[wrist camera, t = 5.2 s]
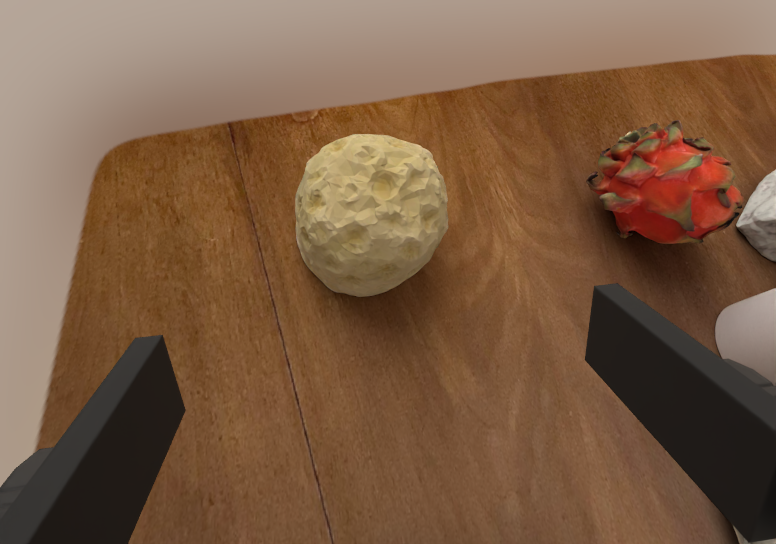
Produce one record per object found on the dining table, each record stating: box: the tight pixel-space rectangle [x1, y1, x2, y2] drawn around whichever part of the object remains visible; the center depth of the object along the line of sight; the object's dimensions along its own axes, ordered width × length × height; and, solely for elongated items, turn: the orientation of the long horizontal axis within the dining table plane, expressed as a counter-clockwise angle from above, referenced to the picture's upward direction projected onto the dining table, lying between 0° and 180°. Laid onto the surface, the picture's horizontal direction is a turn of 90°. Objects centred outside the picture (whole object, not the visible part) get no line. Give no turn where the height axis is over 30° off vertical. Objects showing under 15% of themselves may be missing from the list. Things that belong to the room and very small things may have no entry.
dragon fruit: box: [586, 120, 744, 244], centre depth 34 cm, size 8×8×12 cm
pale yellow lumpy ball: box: [295, 134, 448, 297], centre depth 29 cm, size 10×10×10 cm
